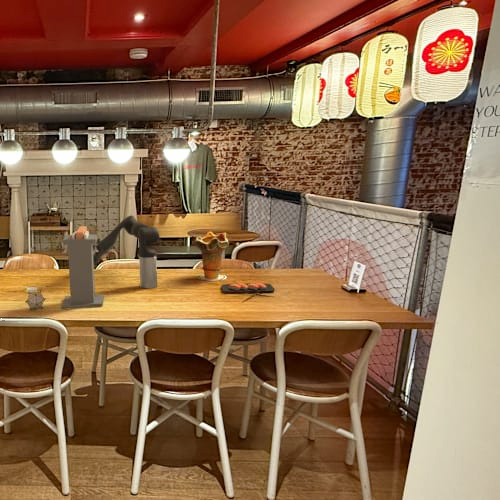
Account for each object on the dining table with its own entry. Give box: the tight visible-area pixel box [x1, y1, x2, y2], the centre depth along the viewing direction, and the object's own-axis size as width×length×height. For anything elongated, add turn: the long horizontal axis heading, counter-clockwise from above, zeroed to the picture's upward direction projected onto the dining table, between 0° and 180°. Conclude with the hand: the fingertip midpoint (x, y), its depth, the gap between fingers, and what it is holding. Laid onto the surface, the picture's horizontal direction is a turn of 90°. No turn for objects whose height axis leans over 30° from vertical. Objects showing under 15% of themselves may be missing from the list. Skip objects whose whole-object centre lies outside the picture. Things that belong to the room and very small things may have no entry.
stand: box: [60, 230, 105, 310], centre depth 198 cm, size 18×17×34 cm
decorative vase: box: [195, 231, 230, 282], centre depth 252 cm, size 21×23×28 cm
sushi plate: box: [220, 282, 275, 303], centre depth 223 cm, size 29×30×4 cm
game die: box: [24, 290, 47, 311], centre depth 190 cm, size 9×8×10 cm
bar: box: [76, 225, 88, 239], centre depth 201 cm, size 22×3×3 cm, turn 17°
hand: (85, 238), depth 220 cm, fingers open, 8 cm apart
